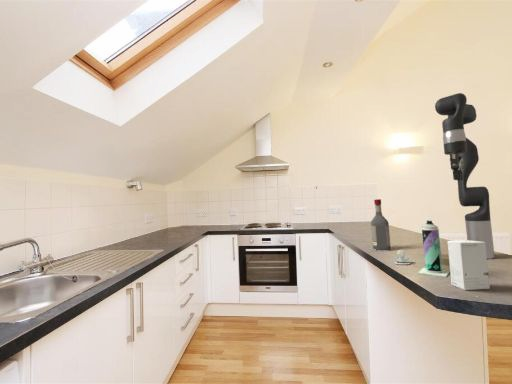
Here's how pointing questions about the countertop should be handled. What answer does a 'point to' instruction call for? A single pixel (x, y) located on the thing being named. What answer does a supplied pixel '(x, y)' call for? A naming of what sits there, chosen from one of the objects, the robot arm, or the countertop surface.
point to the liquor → (380, 229)
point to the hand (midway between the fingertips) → (458, 180)
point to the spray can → (432, 248)
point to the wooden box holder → (445, 261)
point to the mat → (443, 274)
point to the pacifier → (402, 258)
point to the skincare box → (468, 264)
